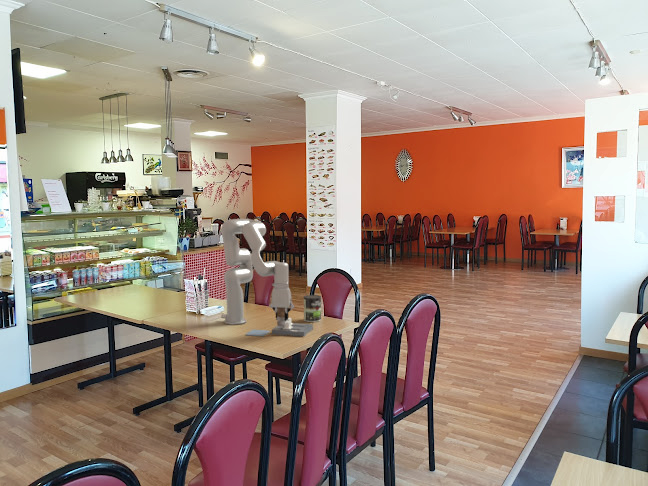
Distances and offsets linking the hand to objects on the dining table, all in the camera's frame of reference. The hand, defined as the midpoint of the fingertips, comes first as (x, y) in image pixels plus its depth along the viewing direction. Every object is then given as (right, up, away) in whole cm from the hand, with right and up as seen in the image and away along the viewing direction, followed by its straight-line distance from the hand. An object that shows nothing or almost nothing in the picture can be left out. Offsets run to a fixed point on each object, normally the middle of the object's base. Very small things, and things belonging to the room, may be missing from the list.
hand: (282, 319), depth 271 cm
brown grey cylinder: (0, -3, 0) cm, 3 cm away
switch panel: (+5, -7, +3) cm, 10 cm away
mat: (-13, -8, 0) cm, 15 cm away
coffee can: (+16, -5, +28) cm, 33 cm away
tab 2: (+3, -5, 0) cm, 6 cm away
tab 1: (+3, -4, +7) cm, 9 cm away
